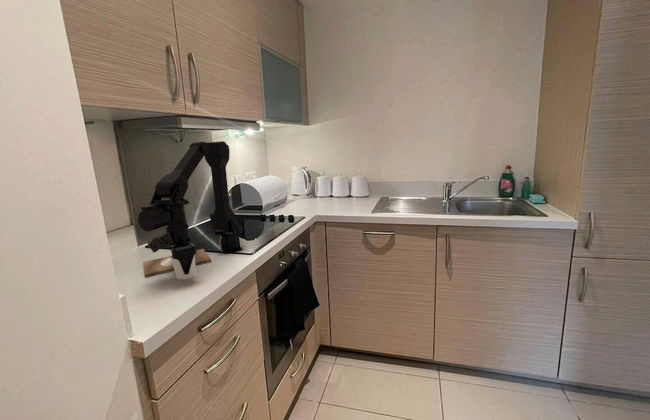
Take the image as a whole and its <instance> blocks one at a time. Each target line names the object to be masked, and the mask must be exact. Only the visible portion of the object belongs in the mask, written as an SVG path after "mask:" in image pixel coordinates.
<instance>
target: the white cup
mask: <svg viewBox="0 0 650 420" xmlns="http://www.w3.org/2000/svg"><path fill="white" fill-rule="evenodd" d="M170 256H171V260H172V264H173V267H174V271H173V272H174V273H175V278H176V279H177V280H188V279H191V278H192V277H195V276H196V275H197V270H196V269H197V267H196V266H197V265H196V266H195V255H194V257H193V260H192V264H191V267H190V271H189V274H187V275H185V274H184V272H183V269H182V267H181V264H180V262H179V260H177V259H173V257H172V255H170Z"/></svg>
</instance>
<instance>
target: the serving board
mask: <svg viewBox="0 0 650 420" xmlns="http://www.w3.org/2000/svg"><path fill="white" fill-rule="evenodd" d="M171 256H172V255H168V256H165V257H159V258H156V259H150V260H146V261H143V263H142V265H143V272H144V274H143V275H144V278H146V279H147V278H151V277H154V276H159V275H163V274H166V273H167V274H168V273H170V272H175V271H174V267H173V264H172V260H171ZM211 262H212V259H211V257H210V256H209V254H208V253H207V252H206V250H205V249H204V248H201V249H196V254H195V266H200V265H203V264H208V263H211Z"/></svg>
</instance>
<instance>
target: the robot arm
mask: <svg viewBox="0 0 650 420" xmlns="http://www.w3.org/2000/svg"><path fill="white" fill-rule="evenodd" d="M203 158H204V159H205V162H206V163H207V165H208V166H209V167H210V171H211V172H210V173H211V180H212V190H213V198H214V199H213V200H214V201H213V202H214V210H213V212H212V213H210V214H209V218H210V226H211V228H212V230H213V231H214V234H215V236H219V239H218V242H219V248H220V251H221V252H223V254H229V253H233V252H234V253H235V252H237V251H242V250H243V247H241V240H240V235H241V234H242V233H243V226H242V225H241V224H240V223H239V222H238V221H237V218H236V214H235V212H234V211H233V210H232V208H231V206H230V198H229V188H228V187H229V185H228V178H227V165H228V163H229V161H230V146H229V145H228V144H227V143H226V142H225V141H223V140H222V141H209V142H206V141H193V142H192V143H190V144H189V148H188V149H187V150H186V152H185V154H184V155H183V156H182V158H181V159H180V161H179V162H178V163H177V165H176V166H175V168H174V169H173V170H172V171H170V172H169V173H168V174H166V175H164V176H163V177H161V179H160V180H159V181H158V182H156V185H155V187H154V193H153V195H152V198H151V200H150V203H149V205H144V206H141V208H140V209H141V211H140V213H139V214H138V218H137V222H138V225H139V227H140V229H141V230H143V231H144V232H147V233H148V232H152V231H154V230H158V229H161V228H163V227H164V228H165V230H164V231H163V232H161V233H158V234H156V235H154V236H152V237H151V238H149V239H148V240H147V241H146V243H147V246H148V247H149V248H150V250H151V251H152V253H156V252H158V251H159V250H161V249H162V248H164V247H166V246H168V249H169V250H170V252H171V253H170V254H171V256H172V257H173V259H177V260H179V262H180V264H181V267H182V269H183V272H184V274H185V275H187V274H189V271H190V267H191V264H192V260H193V257H194V255H195V254H196V250H197V248H196V246H195V244H194V243H192V238H191V236H190V232H189V228H190V226H189V224H188V221H187V214H186V209H185V205H189V204H190V201H188V200H187V199H185V198H184V197H185V195H186V193H187V191H188V188H189V180H190V178H191V176H192V175H193V173H194V172H195V170H196V168H197V167H198V166H199V164H200V162H202V160H203Z"/></svg>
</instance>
